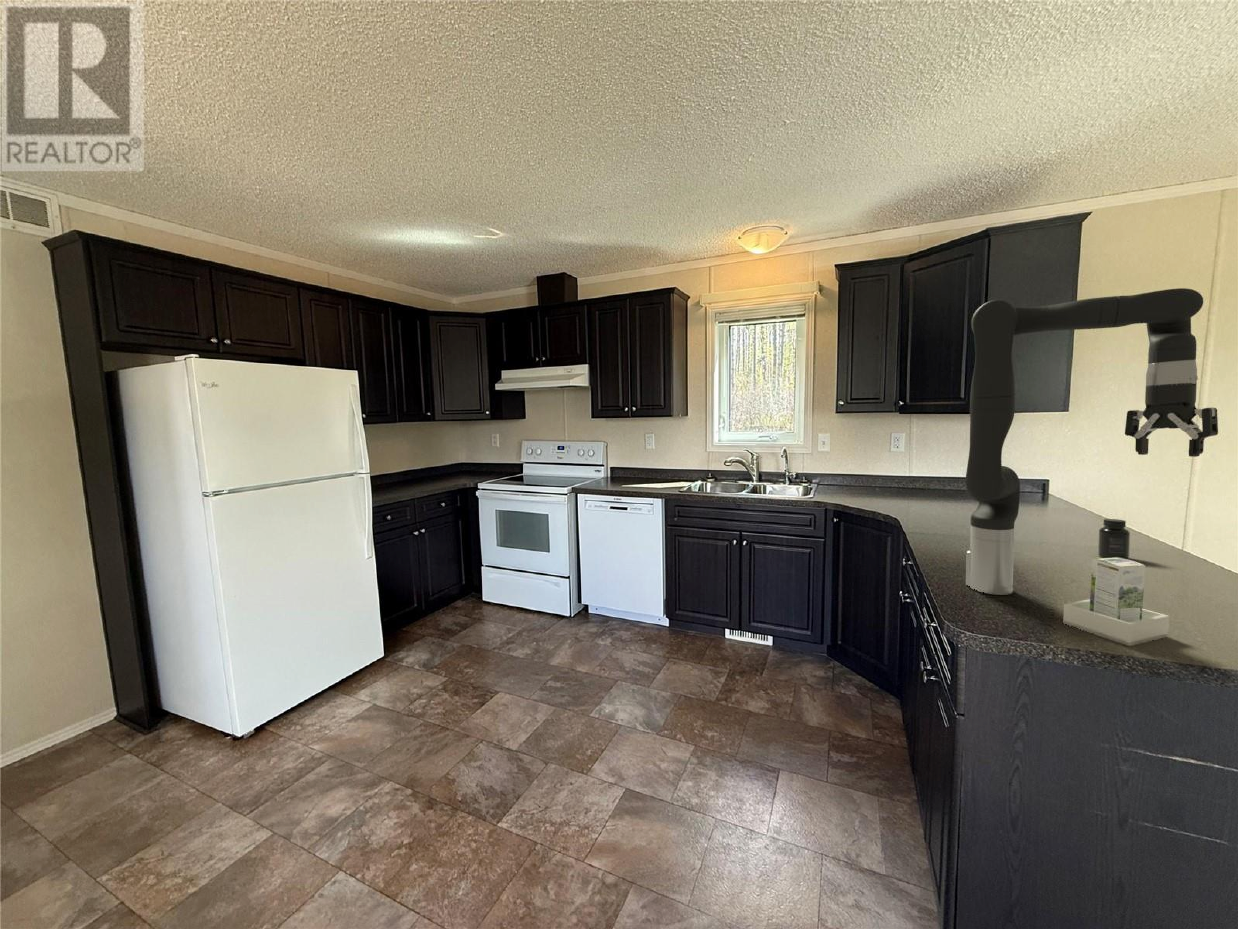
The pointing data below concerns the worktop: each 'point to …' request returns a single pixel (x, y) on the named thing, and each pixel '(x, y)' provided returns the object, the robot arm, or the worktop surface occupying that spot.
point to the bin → (1116, 624)
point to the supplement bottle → (1114, 539)
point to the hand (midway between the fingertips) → (1167, 455)
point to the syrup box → (1117, 588)
